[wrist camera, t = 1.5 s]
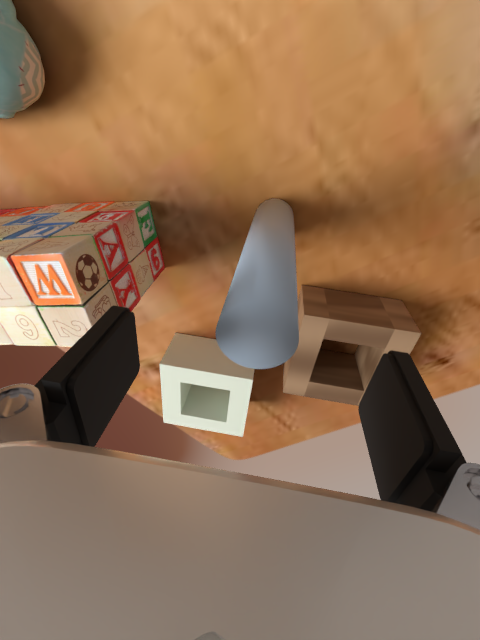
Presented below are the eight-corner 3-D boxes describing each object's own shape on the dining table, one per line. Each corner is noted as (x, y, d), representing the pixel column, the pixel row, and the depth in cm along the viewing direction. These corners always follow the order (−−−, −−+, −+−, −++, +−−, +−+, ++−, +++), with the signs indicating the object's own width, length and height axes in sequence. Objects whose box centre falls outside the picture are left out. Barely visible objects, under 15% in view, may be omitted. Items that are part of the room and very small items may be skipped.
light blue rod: (257, 195, 24) (218, 296, 11) (297, 201, 24) (307, 310, 11) (252, 235, 26) (213, 361, 13) (289, 240, 26) (289, 374, 12)
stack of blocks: (-25, 271, 32) (-169, 344, 22) (-62, 210, 29) (-254, 264, 19) (167, 267, 29) (101, 351, 19) (151, 198, 25) (59, 254, 15)
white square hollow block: (175, 332, 33) (159, 363, 29) (257, 346, 32) (253, 379, 28) (177, 389, 38) (163, 422, 34) (247, 401, 38) (242, 436, 33)
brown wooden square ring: (301, 284, 28) (304, 314, 24) (401, 300, 27) (421, 333, 23) (283, 357, 33) (282, 392, 29) (367, 371, 32) (378, 409, 28)
